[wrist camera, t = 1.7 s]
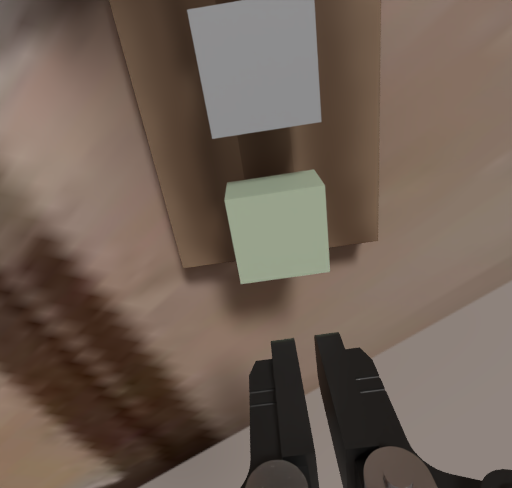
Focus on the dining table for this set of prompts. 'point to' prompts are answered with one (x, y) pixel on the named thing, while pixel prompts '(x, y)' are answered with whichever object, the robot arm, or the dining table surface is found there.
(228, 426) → the dining table surface
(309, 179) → the sage key
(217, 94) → the grey squarish block
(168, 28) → the key panel
